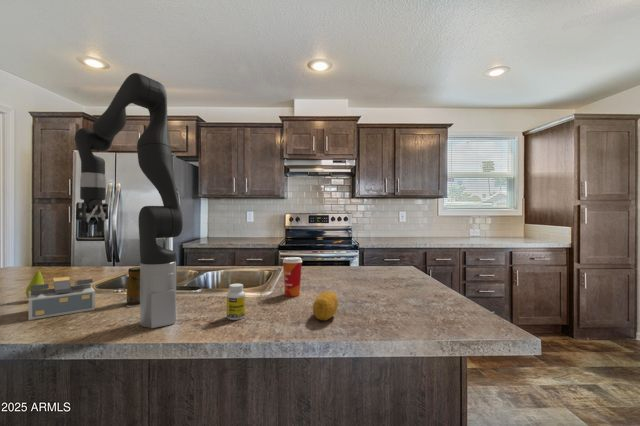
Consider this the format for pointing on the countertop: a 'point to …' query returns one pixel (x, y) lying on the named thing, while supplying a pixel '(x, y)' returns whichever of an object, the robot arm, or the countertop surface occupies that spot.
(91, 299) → the switch unit
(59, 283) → the switch middle
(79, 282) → the switch right
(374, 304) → the countertop surface
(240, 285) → the supplement bottle
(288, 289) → the paper cup
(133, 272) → the condiment
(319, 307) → the potato
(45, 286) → the switch left
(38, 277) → the fruit
